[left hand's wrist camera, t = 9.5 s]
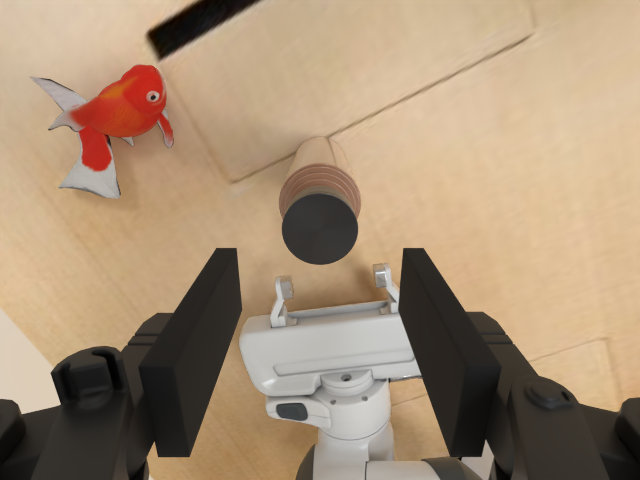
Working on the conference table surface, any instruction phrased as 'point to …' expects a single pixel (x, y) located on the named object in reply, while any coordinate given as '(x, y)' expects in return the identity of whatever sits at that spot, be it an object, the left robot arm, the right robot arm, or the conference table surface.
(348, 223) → the cap
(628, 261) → the conference table surface
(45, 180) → the conference table surface
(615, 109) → the conference table surface
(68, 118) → the fish
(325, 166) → the bottle
